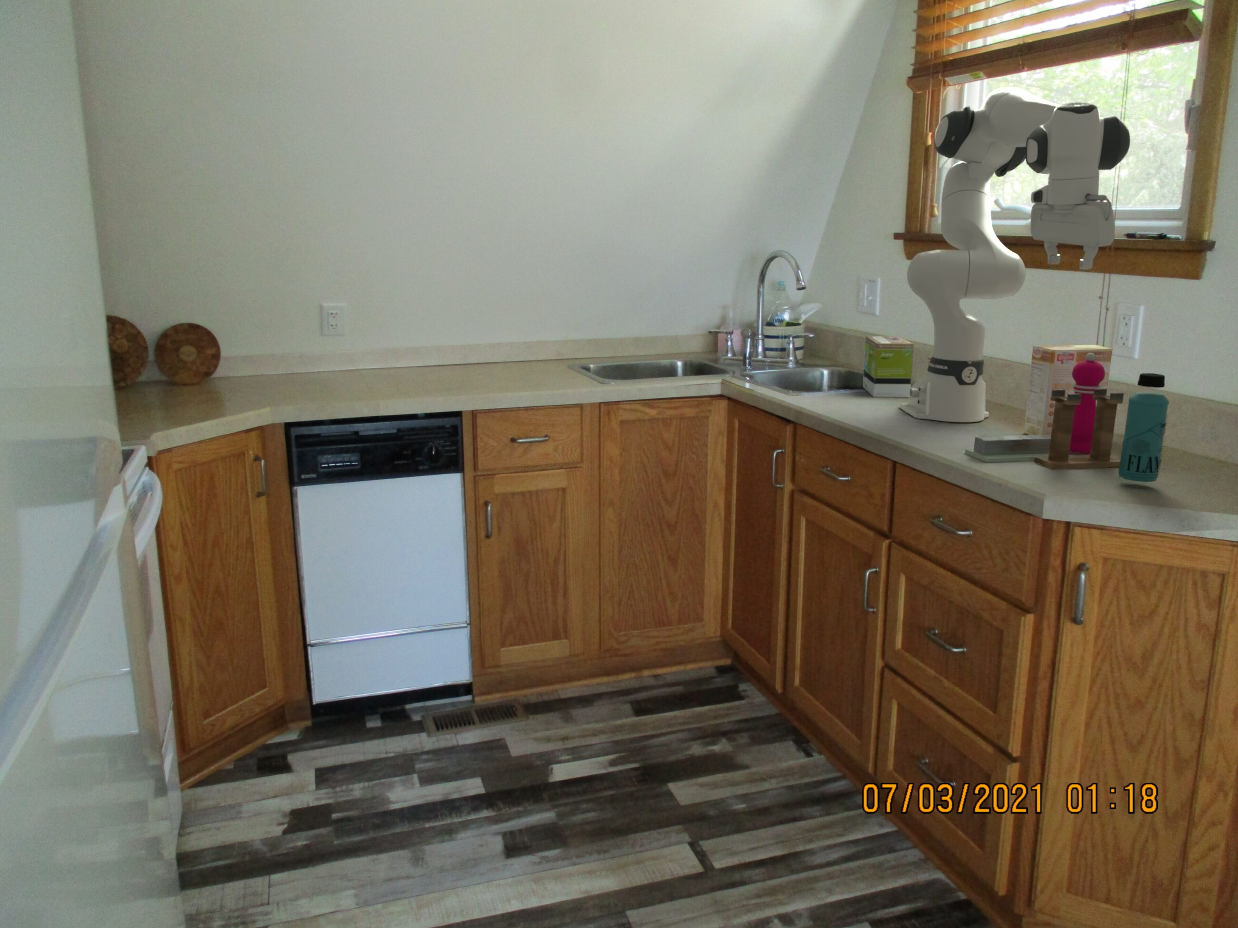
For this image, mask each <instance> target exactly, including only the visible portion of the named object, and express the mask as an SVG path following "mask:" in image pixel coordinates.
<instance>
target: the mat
mask: <svg viewBox="0 0 1238 928" xmlns="http://www.w3.org/2000/svg"><path fill="white" fill-rule="evenodd" d="M964 454H966V455H969V456H971V457H972V458H976V459H978V460H981V461H983V462H985V463H1005V462H1006V463H1007V462H1008V463H1009V462H1030V461H1031V462H1034V458H1035V457H1047V456H1049V453H1043V454H1016V455H988V456H983V455H980V454H978V453H976V452H974V448H965V449H964Z"/></svg>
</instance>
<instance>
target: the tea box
mask: <svg viewBox="0 0 1238 928" xmlns="http://www.w3.org/2000/svg"><path fill="white" fill-rule="evenodd" d="M864 345H865V346H864V363H863V375H862V376H863V377H862V378H863V379H862V387H863V388H864V389H865V390H866V391H867V392H868V393H869V394H870V395H871V396H872V397H873V398H910V394H909V392H910V389H911V388H912V373H913V372H912V371H913V359H914V358H913V357H914V343H913V342H910V341H909V340H907V339H905V338H903V337H902V336H890V335H889V336H888V335H885V336H884V335H883V336H880V335H879V336H874V335H873V336H865V342H864Z"/></svg>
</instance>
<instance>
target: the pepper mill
mask: <svg viewBox="0 0 1238 928" xmlns="http://www.w3.org/2000/svg"><path fill="white" fill-rule="evenodd" d="M1086 360H1087V361H1081V362H1079V363H1077V364H1076V365H1075V366H1074V368H1073V371H1072V377H1073V379H1074V380H1075V383H1076V384H1074V385H1073V386H1074V389H1073V391H1075V394H1081V401H1080V405H1075V411H1074V419H1073V426H1072V434H1071V442H1070V450H1069V453H1075V454H1086V455H1089V454H1090V452H1091V444H1092V437H1093V429H1094V421H1095V414H1096V400H1094V399H1093V393H1094V389H1099V388H1101V386H1099V384H1100V382H1102V381H1103V379H1104V377H1105V369H1104V367H1103V366H1102V365H1101V364H1100V363H1098V362H1096V361H1094V360H1095V355H1094V354H1093V353H1088V354H1087V355H1086Z"/></svg>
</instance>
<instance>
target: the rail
mask: <svg viewBox="0 0 1238 928" xmlns="http://www.w3.org/2000/svg"><path fill="white" fill-rule="evenodd" d="M1050 441H1051V436H1050V435H1027V434H1024V435H1023V434H1019V435H995V436H994V435H993V436H974V445H973V449H974V452H976V453H978V454H980V455H983V456H988V455H1016V454H1043V453H1049V449H1050Z"/></svg>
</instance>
